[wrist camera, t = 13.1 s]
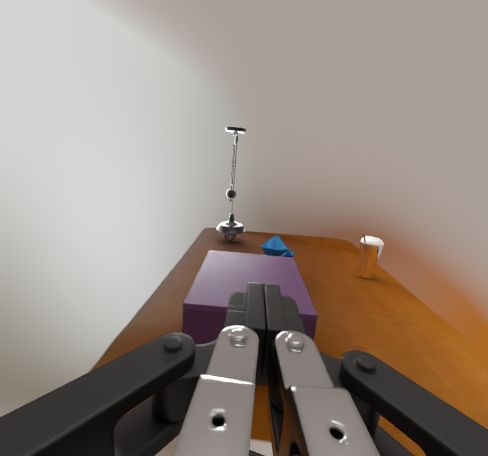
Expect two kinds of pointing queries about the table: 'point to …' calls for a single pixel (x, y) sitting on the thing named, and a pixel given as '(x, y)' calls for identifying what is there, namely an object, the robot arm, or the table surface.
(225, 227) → the light fixture
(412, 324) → the table surface
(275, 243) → the gemstones
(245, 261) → the lid
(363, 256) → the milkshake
